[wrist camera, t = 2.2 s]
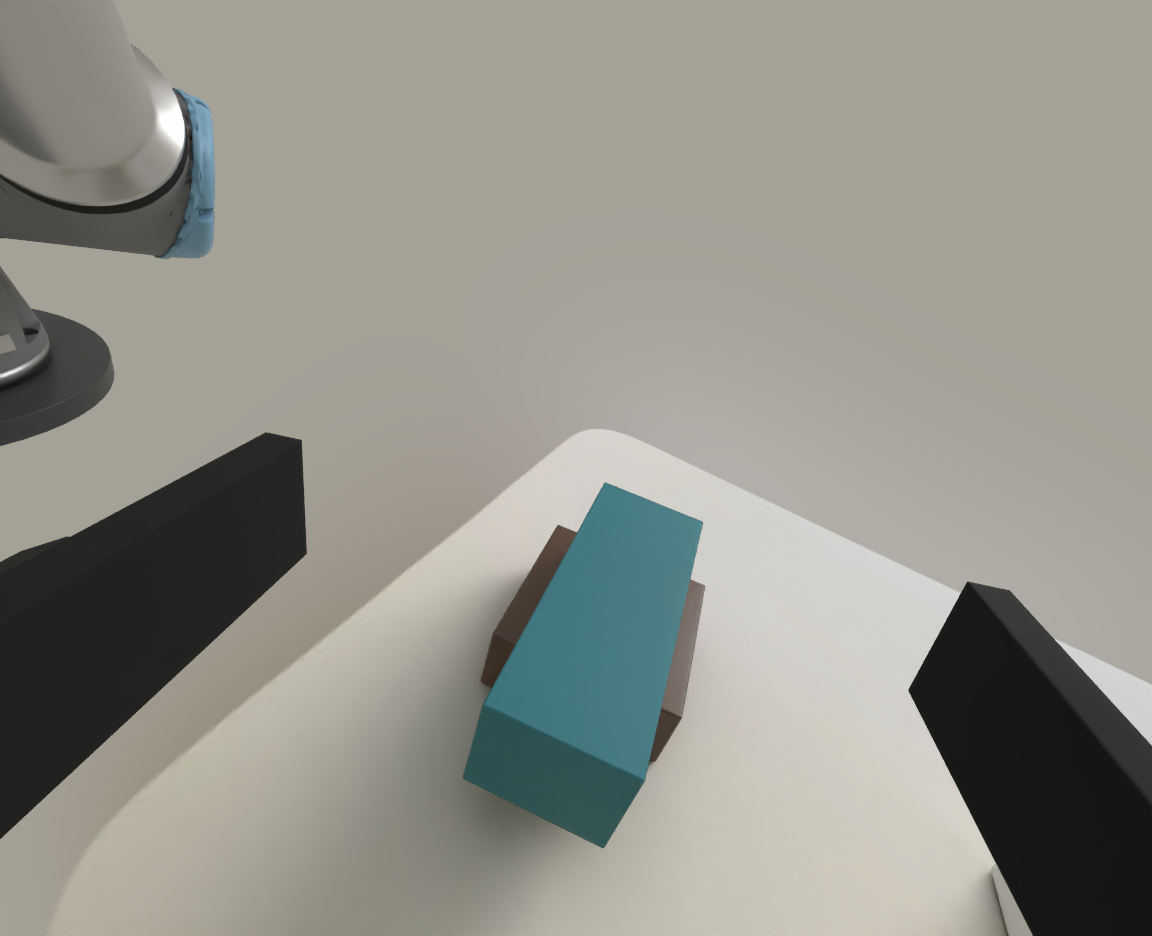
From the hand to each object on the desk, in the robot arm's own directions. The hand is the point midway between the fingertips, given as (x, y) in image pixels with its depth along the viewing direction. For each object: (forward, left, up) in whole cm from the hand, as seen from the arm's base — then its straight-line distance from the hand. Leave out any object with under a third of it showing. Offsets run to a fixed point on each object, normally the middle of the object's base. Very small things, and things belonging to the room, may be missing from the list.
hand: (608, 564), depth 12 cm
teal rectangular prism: (+1, +11, -13) cm, 17 cm away
